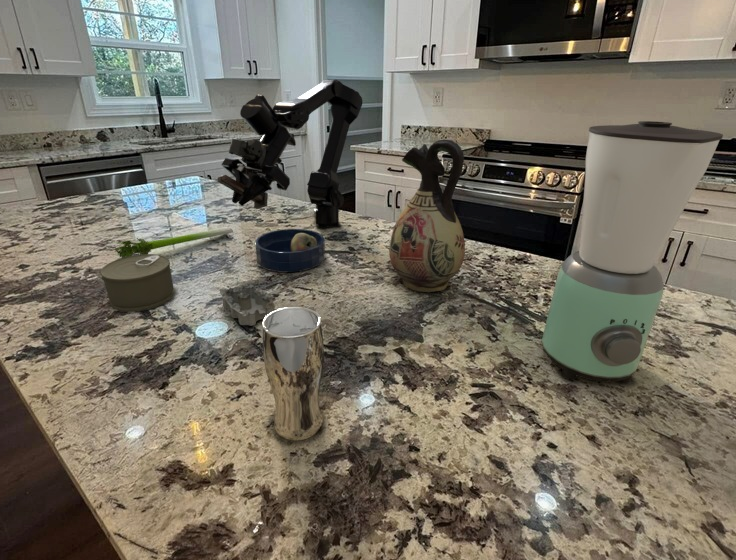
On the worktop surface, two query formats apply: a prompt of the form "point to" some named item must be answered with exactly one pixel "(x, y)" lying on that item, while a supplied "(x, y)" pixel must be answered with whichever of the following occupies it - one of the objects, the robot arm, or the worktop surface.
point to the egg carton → (247, 303)
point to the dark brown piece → (239, 188)
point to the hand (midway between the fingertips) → (236, 203)
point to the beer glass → (294, 369)
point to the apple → (302, 242)
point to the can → (138, 282)
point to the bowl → (288, 251)
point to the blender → (622, 245)
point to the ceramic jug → (429, 223)
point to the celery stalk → (165, 242)
